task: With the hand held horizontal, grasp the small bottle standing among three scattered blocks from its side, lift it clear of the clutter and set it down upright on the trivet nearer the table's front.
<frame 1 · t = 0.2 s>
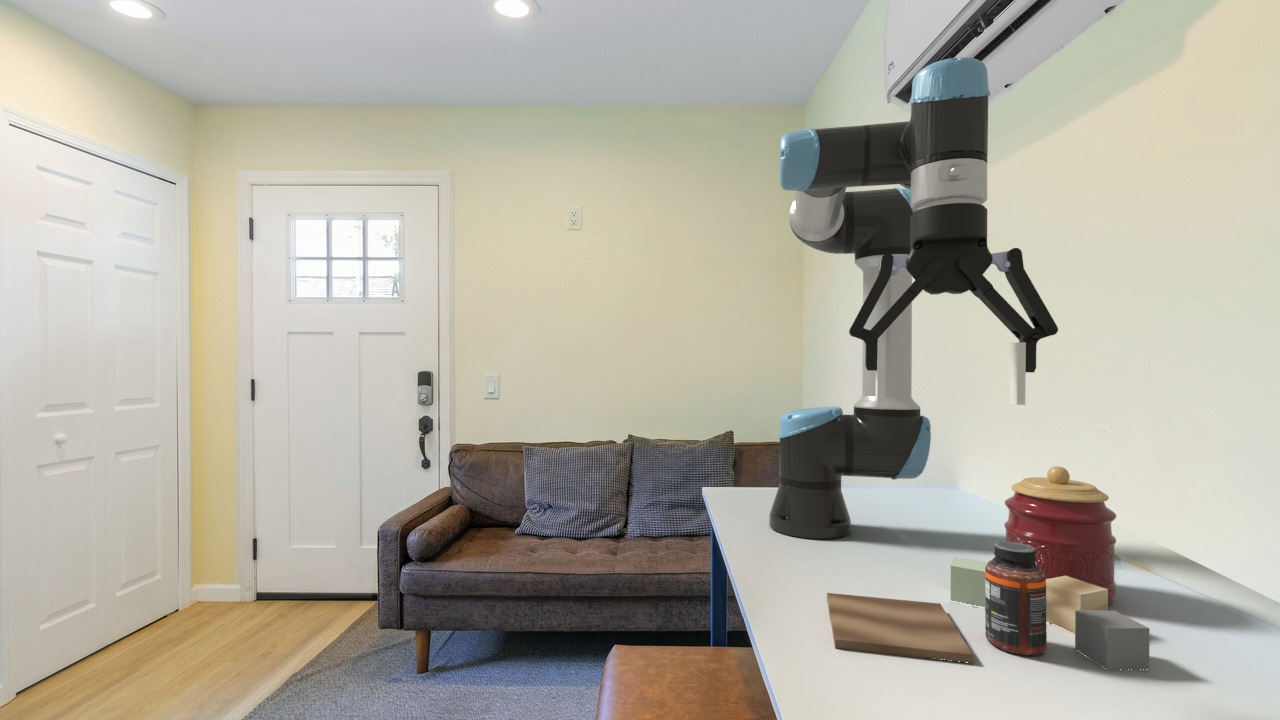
hand: (946, 402, 66), 28 cm above the table, tool pointing down, fingers open, 13 cm apart
canister: (1057, 592, 85), on the table
supplement bottle: (1014, 647, 68), on the table
trivet: (891, 628, 72), on the table
sage block: (971, 601, 81), on the table
grey block: (1110, 660, 65), on the table
beech block: (1072, 625, 74), on the table
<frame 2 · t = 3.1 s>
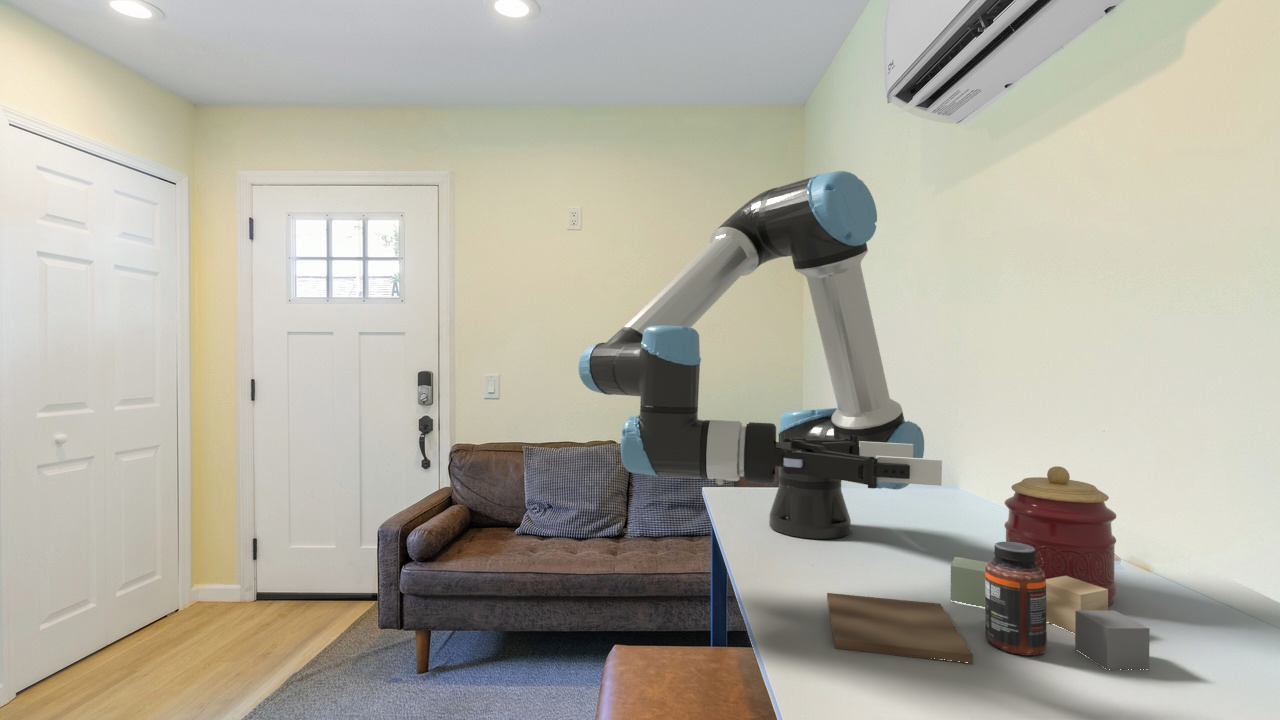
hand: (925, 462, 71), 20 cm above the table, tool horizontal, fingers open, 13 cm apart
nothing on the table moved.
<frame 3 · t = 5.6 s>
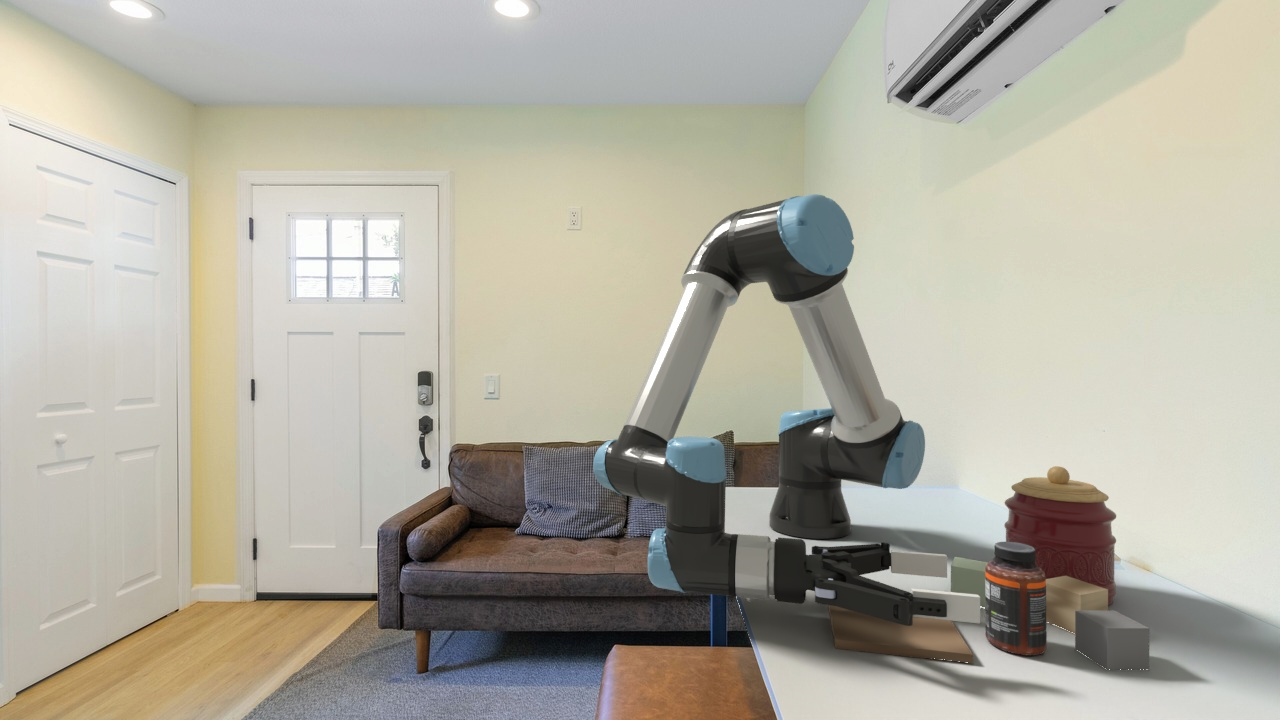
hand: (961, 585, 69), 6 cm above the table, tool horizontal, fingers open, 13 cm apart
nothing on the table moved.
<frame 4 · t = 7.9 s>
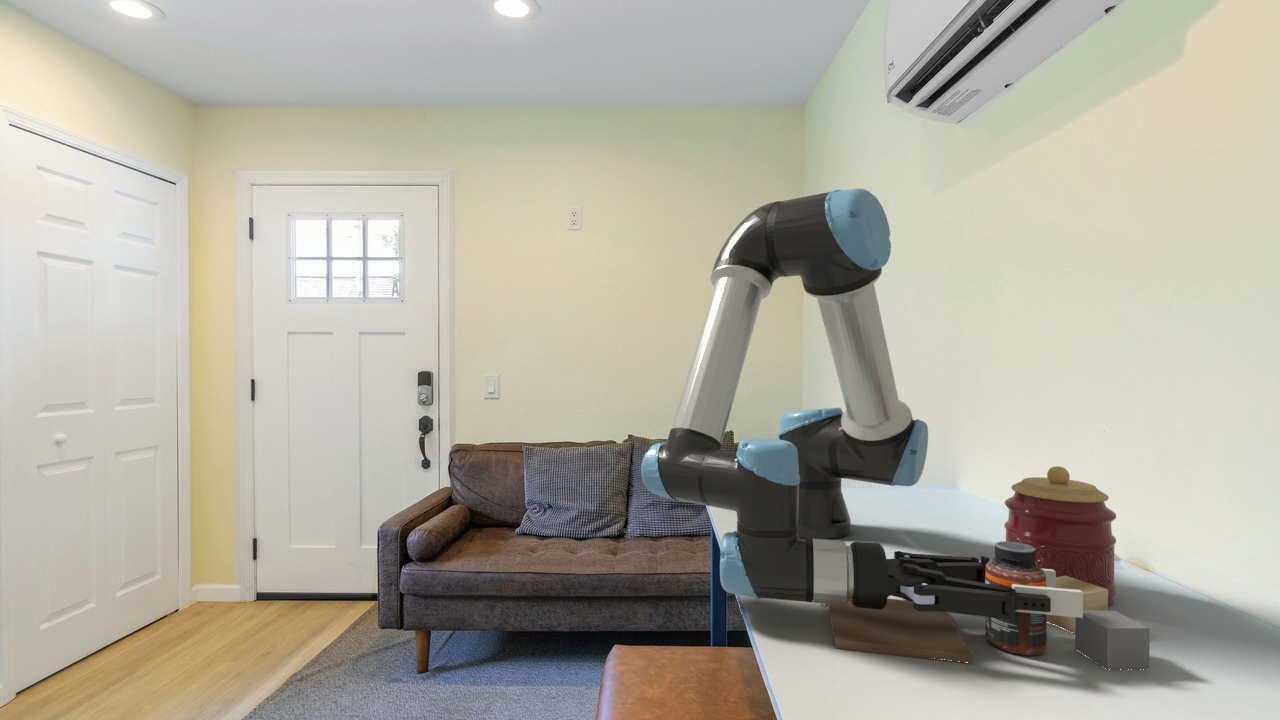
hand: (1066, 592, 67), 7 cm above the table, tool horizontal, fingers closed on supplement bottle, 6 cm apart
supplement bottle: (1014, 646, 68), on the table, touching gripper
everything else where it was.
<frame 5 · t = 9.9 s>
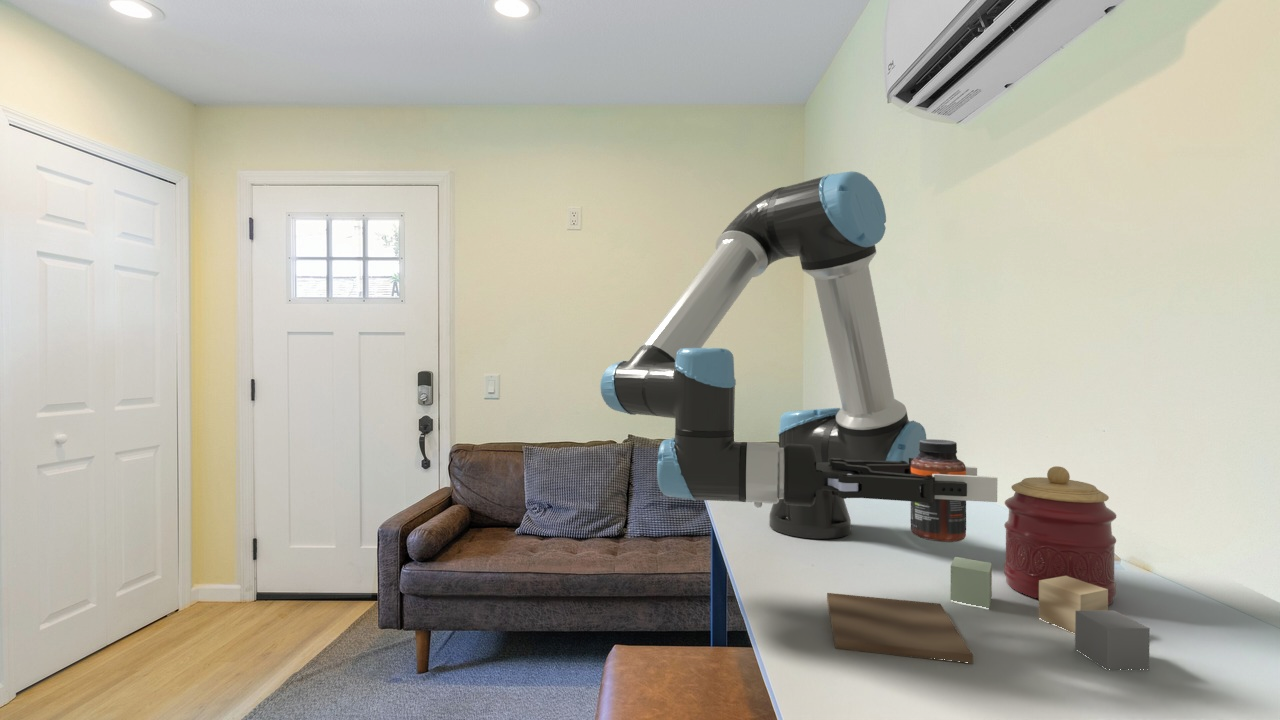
hand: (985, 483, 70), 18 cm above the table, tool horizontal, fingers closed on supplement bottle, 6 cm apart
supplement bottle: (937, 538, 71), point 11 cm above the table, touching gripper
everything else where it was.
when the fingers open (9 cm above the table, at t = 12.2 s): supplement bottle drops 1 cm, resting on trivet.
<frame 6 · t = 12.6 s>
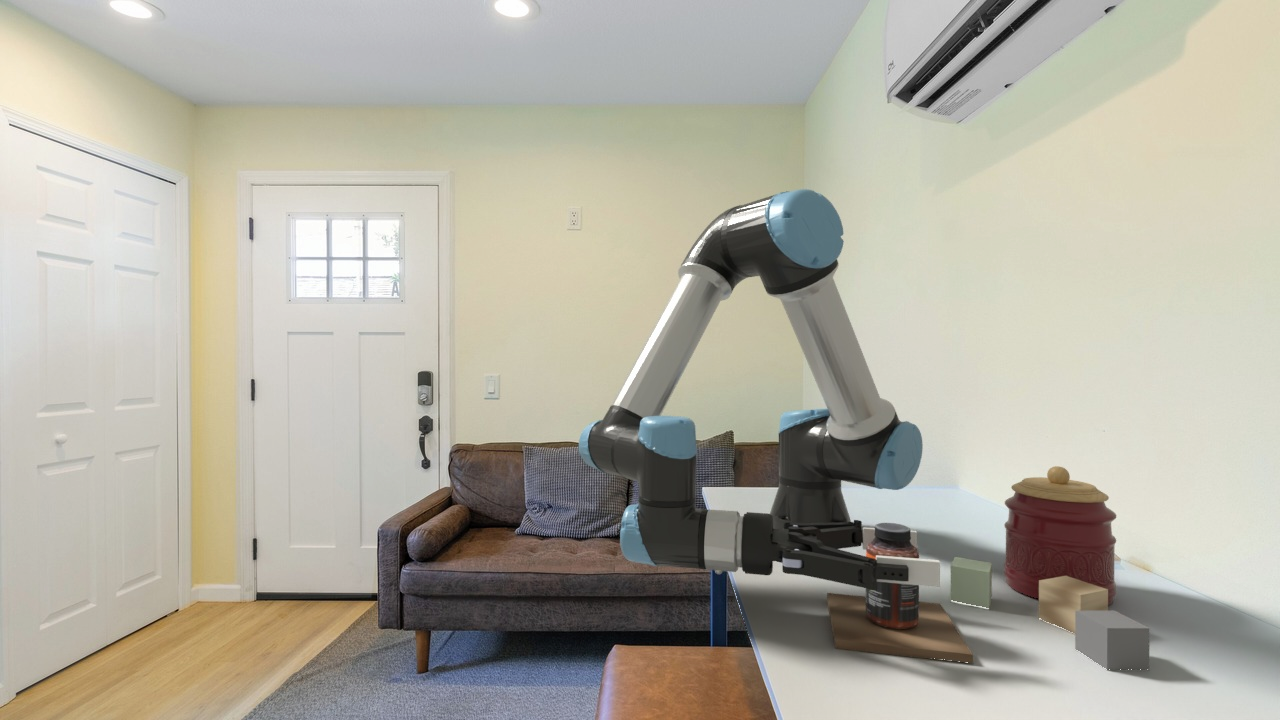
hand: (927, 556, 72), 9 cm above the table, tool horizontal, fingers open, 11 cm apart
supplement bottle: (891, 621, 72), point 1 cm above the table, touching trivet
everything else where it was.
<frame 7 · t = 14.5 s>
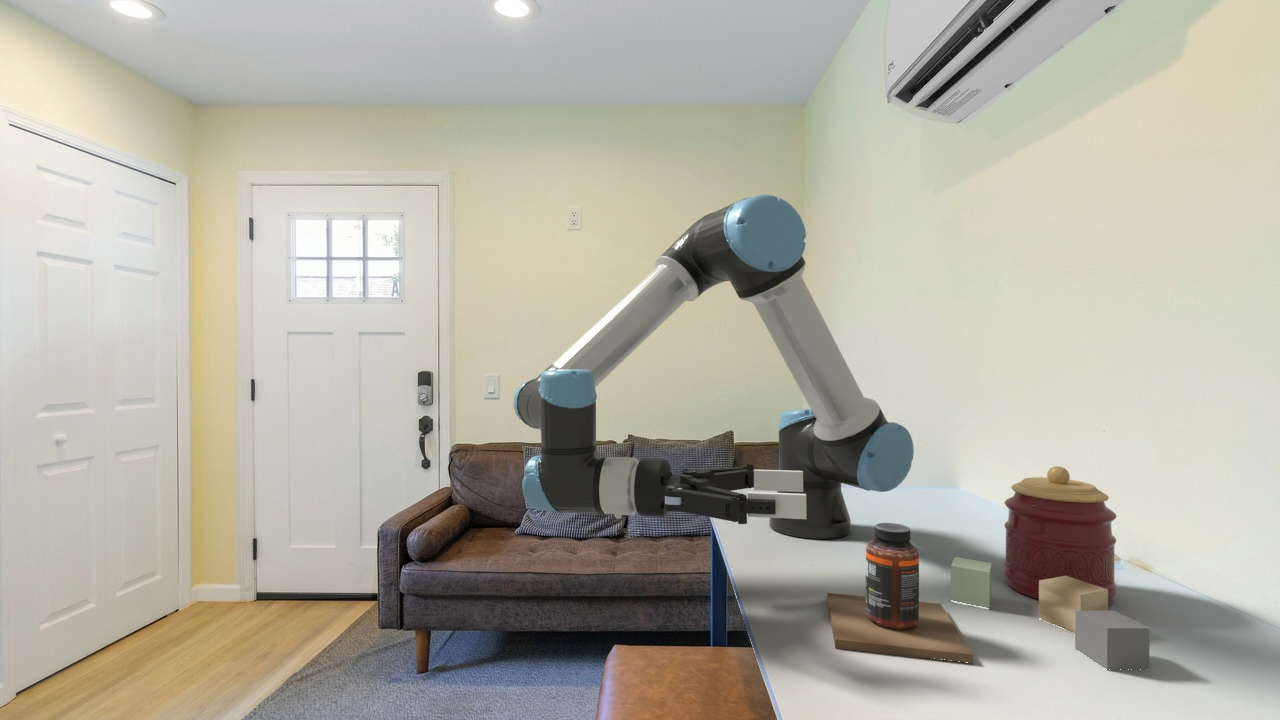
hand: (804, 492, 75), 16 cm above the table, tool horizontal, fingers open, 13 cm apart
nothing on the table moved.
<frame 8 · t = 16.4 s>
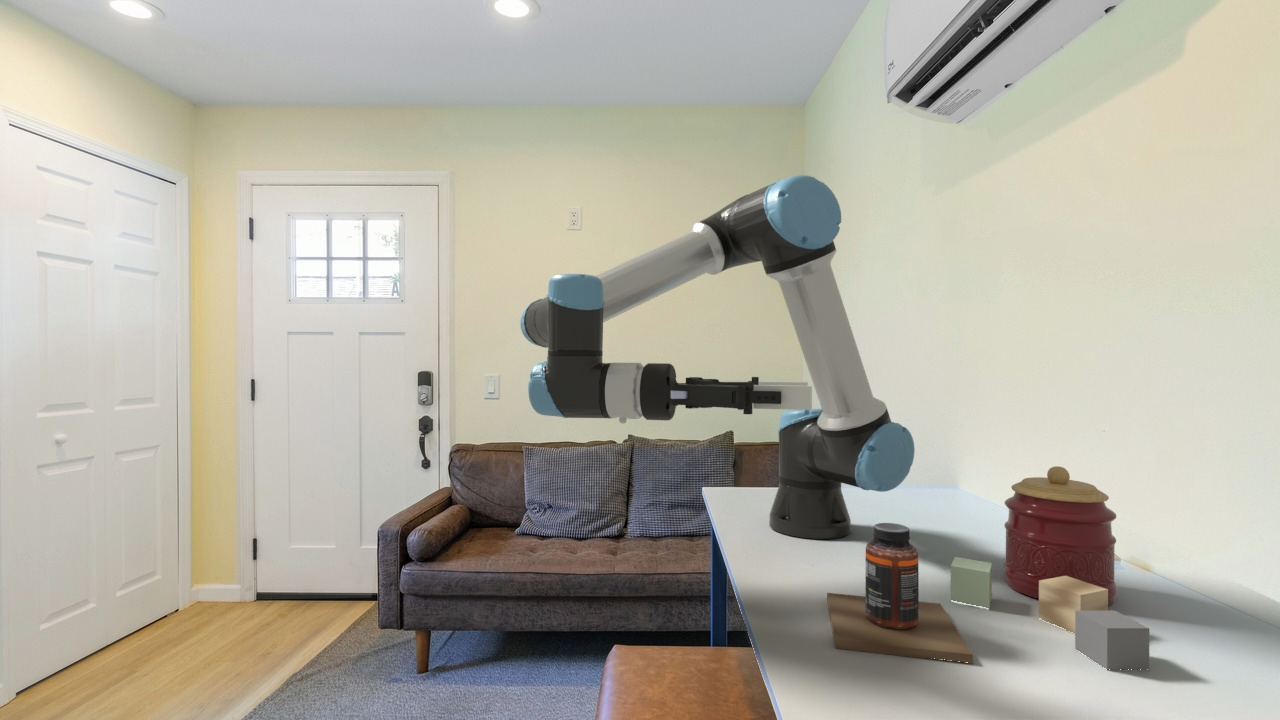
hand: (809, 394, 75), 28 cm above the table, tool horizontal, fingers open, 13 cm apart
nothing on the table moved.
at the end: supplement bottle inside the target area on the trivet (0.2 cm from its centre), point 0.8 cm above the trivet's base; supplement bottle tilted 0°; the gripper is holding nothing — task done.
